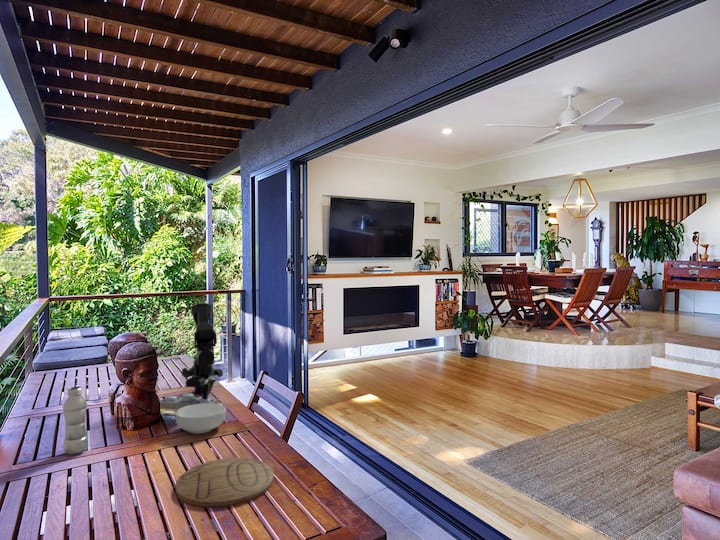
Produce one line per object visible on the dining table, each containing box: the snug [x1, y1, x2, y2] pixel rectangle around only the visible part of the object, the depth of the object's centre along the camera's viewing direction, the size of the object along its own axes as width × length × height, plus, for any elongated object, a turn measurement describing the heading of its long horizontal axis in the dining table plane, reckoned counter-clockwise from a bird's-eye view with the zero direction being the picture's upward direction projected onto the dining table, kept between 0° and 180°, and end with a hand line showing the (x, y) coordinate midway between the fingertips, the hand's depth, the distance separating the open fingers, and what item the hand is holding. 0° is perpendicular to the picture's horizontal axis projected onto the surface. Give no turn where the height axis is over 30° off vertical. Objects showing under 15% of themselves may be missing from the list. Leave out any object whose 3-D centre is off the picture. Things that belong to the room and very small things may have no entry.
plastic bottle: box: [62, 386, 89, 455], centre depth 144 cm, size 6×7×20 cm
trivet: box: [175, 457, 275, 509], centre depth 124 cm, size 25×25×2 cm
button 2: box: [181, 392, 195, 403], centre depth 186 cm, size 4×4×3 cm
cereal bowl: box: [174, 403, 227, 435], centre depth 163 cm, size 17×17×7 cm
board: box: [158, 396, 224, 416], centre depth 185 cm, size 14×24×3 cm, turn 79°
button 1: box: [164, 395, 178, 402], centre depth 187 cm, size 4×4×3 cm
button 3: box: [199, 397, 212, 404], centre depth 185 cm, size 4×4×3 cm
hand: (205, 399), depth 185 cm, fingers closed, pressing on button 3
